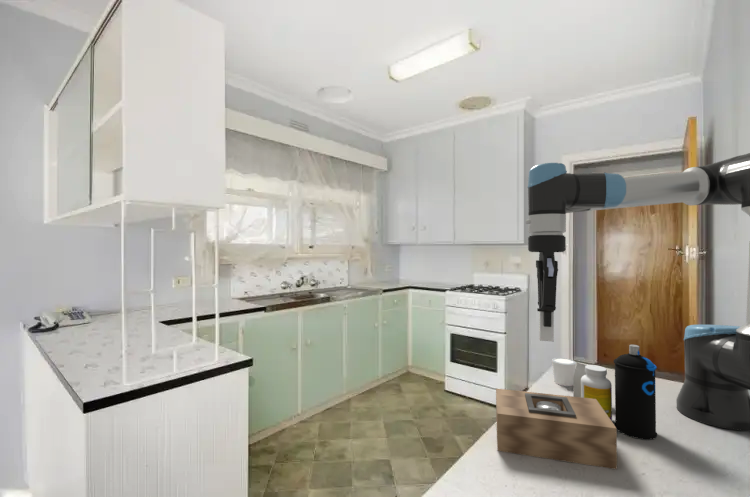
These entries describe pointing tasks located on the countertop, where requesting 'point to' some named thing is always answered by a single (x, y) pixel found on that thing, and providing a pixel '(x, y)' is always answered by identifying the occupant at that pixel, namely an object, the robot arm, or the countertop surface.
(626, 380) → the aerosol can
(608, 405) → the supplement bottle
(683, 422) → the countertop surface
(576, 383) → the grey boxy piece
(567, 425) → the socket block
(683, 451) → the countertop surface
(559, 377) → the white cup
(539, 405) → the peg
